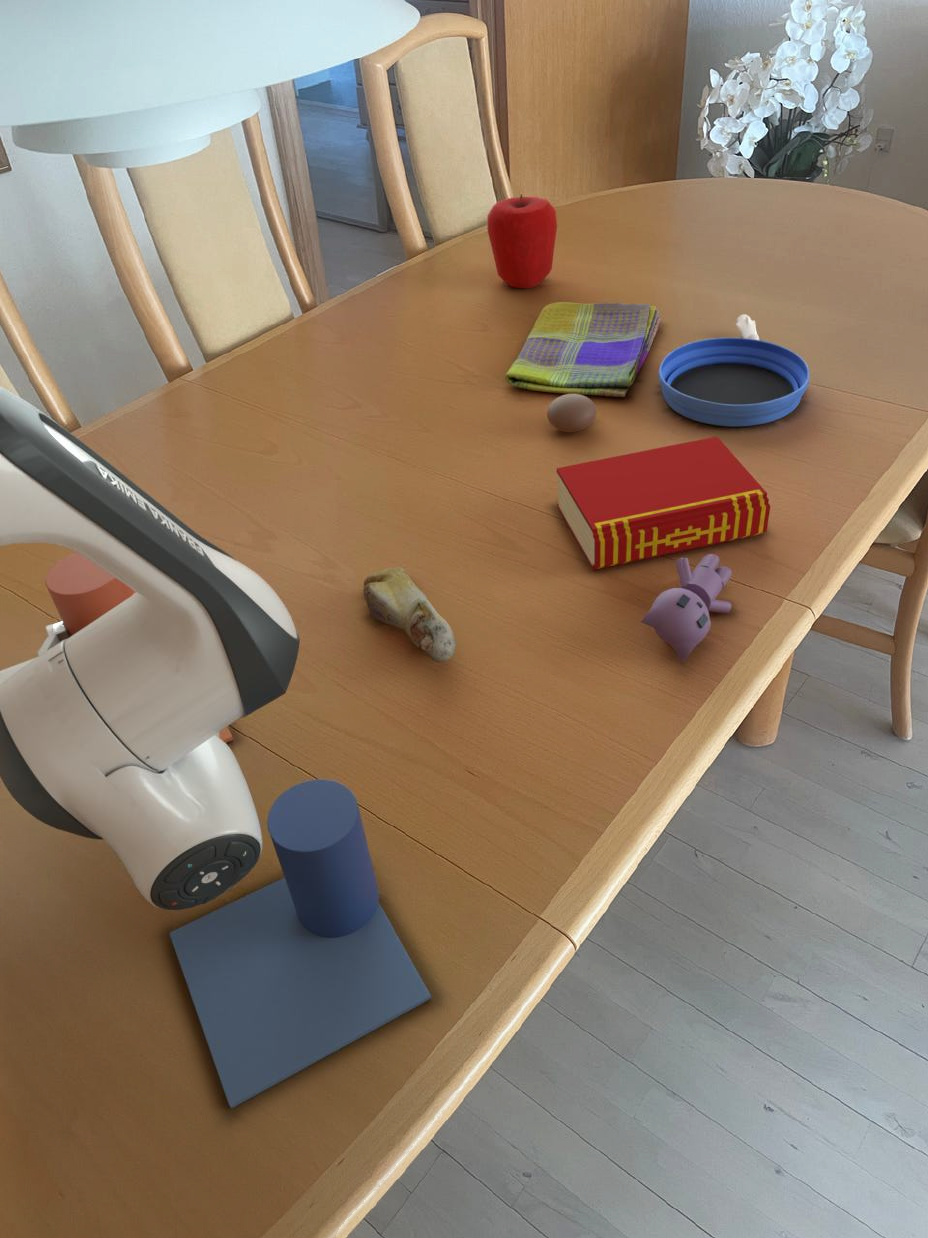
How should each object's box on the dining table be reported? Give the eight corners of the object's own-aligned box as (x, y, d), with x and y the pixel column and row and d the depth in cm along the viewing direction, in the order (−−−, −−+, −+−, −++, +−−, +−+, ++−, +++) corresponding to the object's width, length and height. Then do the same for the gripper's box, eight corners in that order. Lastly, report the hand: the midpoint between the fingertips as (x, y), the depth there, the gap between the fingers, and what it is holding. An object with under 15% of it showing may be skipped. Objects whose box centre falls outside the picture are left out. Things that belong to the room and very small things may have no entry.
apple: (563, 270, 158) (562, 182, 149) (549, 295, 151) (547, 204, 142) (500, 268, 161) (495, 182, 152) (483, 293, 153) (477, 204, 145)
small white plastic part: (729, 349, 132) (731, 327, 130) (736, 330, 136) (738, 308, 134) (756, 351, 131) (759, 329, 129) (762, 332, 135) (765, 310, 133)
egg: (567, 410, 123) (566, 381, 120) (605, 423, 120) (606, 393, 117) (537, 431, 120) (536, 401, 117) (576, 445, 117) (576, 414, 114)
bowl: (643, 422, 119) (644, 395, 117) (673, 356, 132) (675, 331, 130) (796, 438, 114) (801, 411, 111) (813, 368, 126) (817, 342, 124)
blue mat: (231, 1109, 60) (229, 1106, 60) (170, 935, 70) (168, 932, 70) (431, 999, 65) (430, 995, 65) (348, 850, 75) (347, 846, 74)
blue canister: (314, 952, 68) (286, 867, 61) (284, 889, 72) (254, 802, 65) (392, 913, 70) (372, 825, 63) (358, 853, 74) (336, 765, 67)
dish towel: (498, 390, 129) (496, 371, 127) (545, 313, 146) (544, 295, 144) (630, 401, 124) (631, 381, 122) (662, 320, 141) (663, 301, 139)
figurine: (706, 530, 91) (651, 603, 84) (757, 582, 91) (707, 659, 84) (670, 557, 95) (615, 628, 88) (719, 607, 96) (669, 682, 88)
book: (595, 575, 97) (596, 534, 94) (557, 507, 107) (556, 468, 104) (765, 538, 100) (771, 497, 96) (713, 475, 109) (716, 436, 106)
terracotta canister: (97, 699, 79) (52, 605, 72) (82, 657, 83) (38, 564, 77) (169, 671, 81) (132, 576, 74) (150, 631, 85) (114, 538, 78)
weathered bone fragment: (344, 584, 96) (401, 655, 84) (385, 547, 96) (448, 614, 84) (373, 616, 99) (433, 689, 87) (413, 580, 99) (478, 649, 88)
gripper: (271, 629, 71) (215, 537, 80) (-19, 744, 64) (-43, 629, 74) (289, 691, 75) (233, 596, 85) (17, 805, 69) (-10, 688, 78)
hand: (102, 612), depth 79 cm, fingers closed on terracotta canister, 6 cm apart
